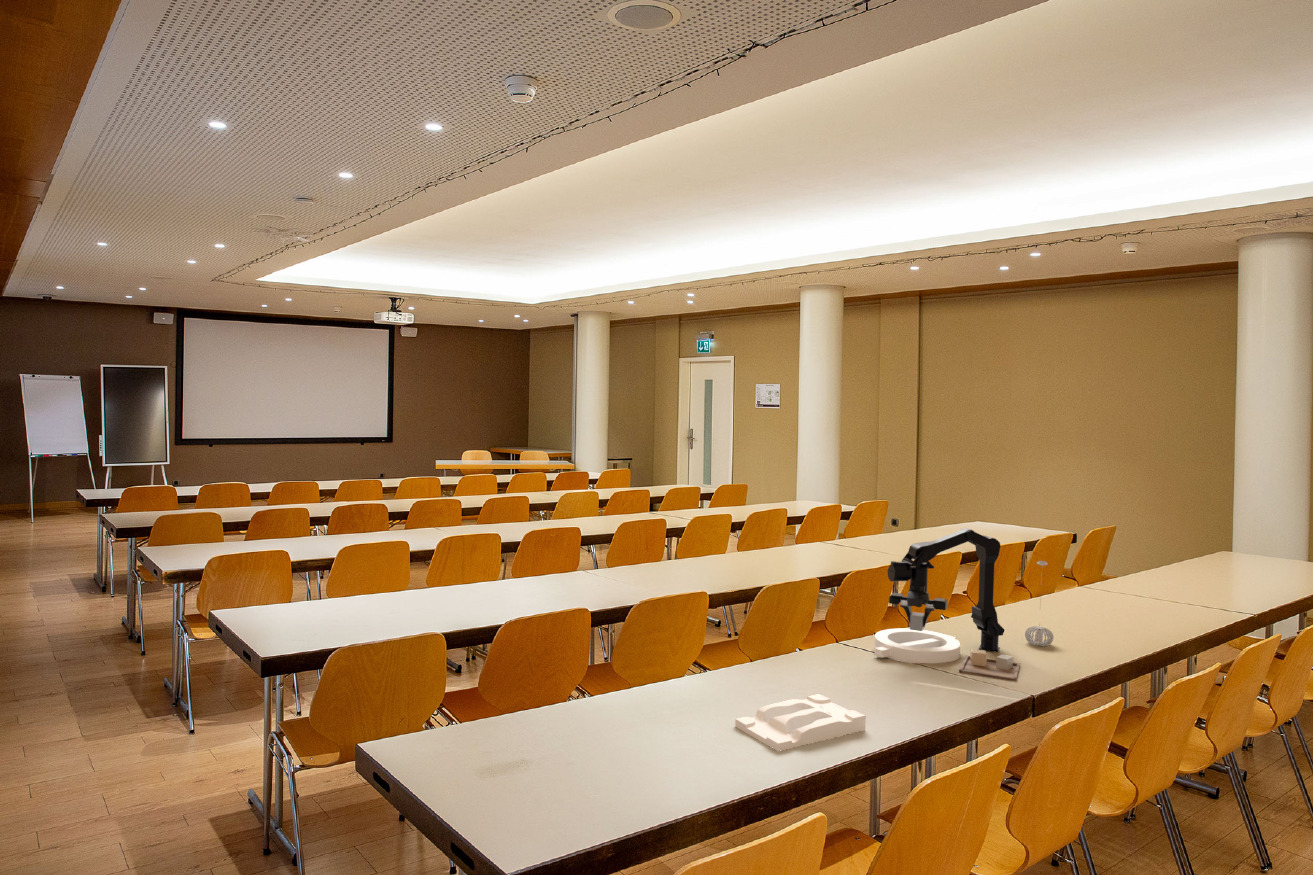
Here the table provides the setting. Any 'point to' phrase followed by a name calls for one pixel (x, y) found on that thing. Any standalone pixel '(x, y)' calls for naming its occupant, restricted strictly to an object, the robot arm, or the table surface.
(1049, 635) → the pendant light
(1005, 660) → the beige cube
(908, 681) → the table surface
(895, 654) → the ring with crossbar
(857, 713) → the mold
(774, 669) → the table surface
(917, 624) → the grey cube block
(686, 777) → the table surface
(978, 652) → the tan cube
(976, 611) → the robot arm
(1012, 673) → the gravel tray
